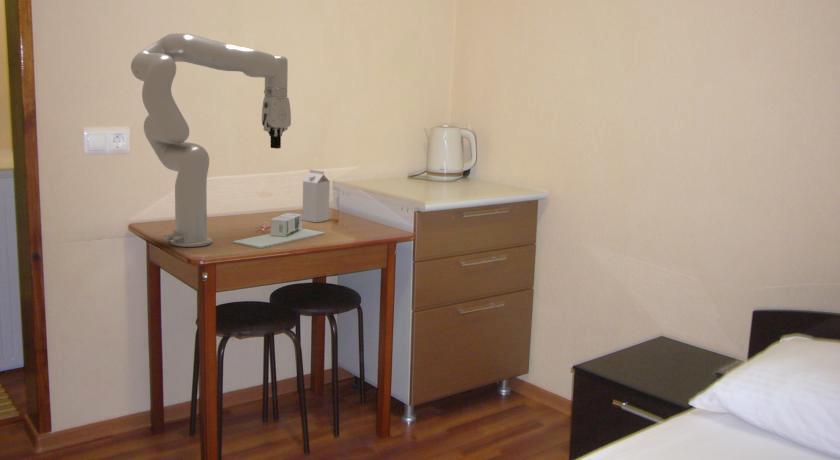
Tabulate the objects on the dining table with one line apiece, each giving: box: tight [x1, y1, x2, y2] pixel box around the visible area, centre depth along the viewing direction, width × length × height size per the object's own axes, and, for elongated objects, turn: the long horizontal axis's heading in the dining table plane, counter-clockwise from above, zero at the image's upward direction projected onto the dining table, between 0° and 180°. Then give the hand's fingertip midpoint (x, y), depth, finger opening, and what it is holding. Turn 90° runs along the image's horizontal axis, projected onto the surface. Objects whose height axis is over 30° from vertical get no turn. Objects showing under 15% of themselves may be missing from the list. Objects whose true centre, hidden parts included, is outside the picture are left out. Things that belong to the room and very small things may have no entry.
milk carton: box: [302, 169, 331, 223], centre depth 292 cm, size 7×7×19 cm
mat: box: [232, 227, 326, 249], centre depth 258 cm, size 32×12×1 cm, turn 148°
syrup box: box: [269, 212, 303, 237], centre depth 265 cm, size 6×6×14 cm
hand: (275, 148), depth 263 cm, fingers closed
